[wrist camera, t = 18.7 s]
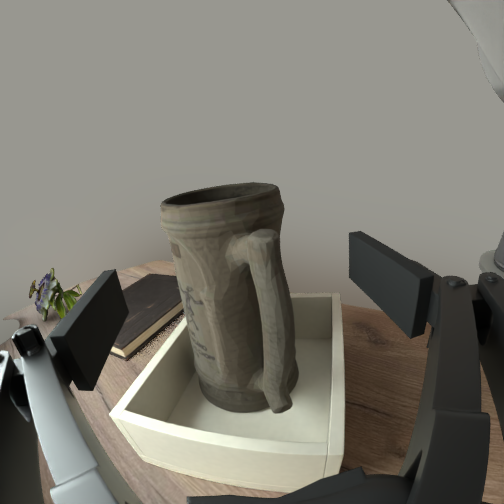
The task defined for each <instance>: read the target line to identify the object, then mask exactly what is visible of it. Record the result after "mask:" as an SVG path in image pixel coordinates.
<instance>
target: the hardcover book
mask: <svg viewBox="0 0 504 504" xmlns="http://www.w3.org/2000/svg"><path fill="white" fill-rule="evenodd" d="M122 292H123V295H124V298H125V301H126V304H127V307H128V310H129V314H128V316H127V318H126V320H125V322H124V324H123V326H122V328H121V330H120V332H119V334H118V336H117V338H116V341H115V343H114V345H113V347H112V349H111V351H110V354H112V355H114V356H116V357H119V358H121V359H123V360H125V361H127V360H128V359H130V358H131V357H132V356H133V355H134V354H135V353H136V352H138V351H139V350H140V349H141V348H142V347H143V346H145V345H146V344H147V343H148V342H149V341H150V340H152V339H153V338H154V337H155V336H156V335H157V334H159V333H160V332H161V331H162V330H163V329H164V328H165V327H167V326H168V325H169V324H170V323H171V322H172V321H174V320H175V319H176V318H177V317H178V316H179V315H181V314H182V313H183V312H184V308H183V303H182V299H181V295H180V290H179V286H178V281H177V277H176V276H169V275H159V274H148V275H146V276H145V277H143V278H142V279H140V280H138V281H137V282H135V283H134V284H132V285H130V286H129V287H127V288H126V289H124V290H122Z"/></svg>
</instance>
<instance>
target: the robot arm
mask: <svg viewBox="0 0 504 504" xmlns="http://www.w3.org/2000/svg"><path fill="white" fill-rule="evenodd" d="M447 1H448V2H449V3H450V4H451V6H452V7H453V8H454V10H455V11H456V12H457V13H458V15H459V16H460V17H461V19H462V20H463V21H464V23H465V24H466V25H467V27H468V28H469V30H470V31H471V33H472V34H473V36H474V37H475V39H476V40H477V45H478V54H479V59H480V62H481V65H482V68H483V70H484V73H485V75H486V77H487V79H488V81H489V83H490V84H491V86H492V88H493V89H494V91H495V92H496V94H497V95H498V96H499V98H500V99H501V100H502V101H503V102H504V0H447ZM494 264H495V266H496V267H497V268H498V269H499V270H501V271H502V272H504V232H503V235H502V238H501V240H500V243H499V245H498V248H497V249H496V251H495V255H494ZM349 278H351V280H352V281H353V282H354V283H355V284H357V286H358V287H360V289H362V290H363V291H364V292H365V293H366V294H367V295H368V296H369V297H370V298H371V299H372V300H373V301H374V302H375V303H376V304H377V305H378V306H379V307H380V308H381V309H382V310H383V311H384V312H385V313H386V314H387V315H388V316H389V317H390V318H391V319H392V320H393V321H394V323H395V324H396V325H397V326H398V327H399V328H400V329H401V330H402V331H403V332H404V333H405V334H406V335H407V336H408V337H409V338H410V339H411V338H414V337H417V336H420V335H422V334H424V332H425V327H426V322H428V323H429V324H430V325H431V326H432V328H431V332H430V336H429V340H428V344H427V348H429V349H428V357H427V364H426V371H425V377H424V383H423V388H422V394H421V399H420V403H419V408H418V413H417V417H416V421H415V425H414V429H413V433H412V436H411V440H410V444H409V447H408V450H407V454H406V457H405V460H404V463H403V465H402V467H401V469H400V472H399V474H398V475H390V474H369V475H365V473H364V471H363V469H362V466H361V467H358V468H355V469H352V470H349V471H346V472H343V473H339V474H336V475H333V476H329V477H326V478H322V479H319V480H317V481H315V482H313V483H311V484H309V485H307V486H305V487H303V488H301V489H298V490H296V491H294V492H292V493H289V494H287V495H284V496H282V497H279V498H259V497H246V496H236V495H220V496H196V497H187V504H491V503H487V502H482V497H483V492H484V486H485V480H486V473H487V465H488V455H489V443H490V415H489V414H488V413H484V412H481V372H480V362H481V365H482V367H483V370H484V373H485V376H486V379H487V382H488V385H489V388H490V391H491V394H492V397H493V401H494V404H495V407H496V411H497V415H498V419H499V423H500V427H501V431H502V435H503V440H504V279H503V278H502V277H501V276H499V275H497V274H496V273H493V272H490V273H487V272H486V273H482V274H480V276H479V280H478V284H475V285H468V282H467V281H466V280H464V279H463V278H460V277H457V276H446V277H443V278H442V277H441V276H439V275H437V274H436V273H434V272H432V271H431V270H428V268H426V267H425V266H424V267H423V265H421V264H420V263H418V262H416V261H413V260H410V259H408V258H406V257H404V256H403V255H401V254H400V253H398V252H396V251H394V250H393V249H391V248H389V247H388V246H386V245H384V244H382V243H381V242H379V241H377V240H376V239H374V238H372V237H370V236H369V235H367V234H365V233H363V232H361V231H358V232H351V233H349ZM128 314H129V310H128V307H127V304H126V301H125V298H124V295H123V292H122V289H121V286H120V282H119V279H118V276H117V272H116V269H114V270H108V271H104V272H103V273H102V274H101V275H100V276H99V277H98V278H97V279H96V281H95V282H94V283H93V284H92V285H91V286H90V287H89V289H88V290H87V291H86V292H85V293H84V294H83V296H82V297H81V298H80V299H79V300H78V301H77V303H76V304H75V305H74V306H73V308H72V309H71V310H70V311H69V312H68V314H67V315H66V316H65V317H63V318H62V319H61V320H60V321H59V323H58V324H57V326H56V327H55V328H54V329H53V331H52V332H51V333H50V334H49V335H48V337H47V338H46V339H45V341H44V339H43V337H42V335H41V333H40V331H39V329H38V327H37V325H34V324H32V325H27V326H24V327H22V328H21V329H19V330H18V331H16V332H15V333H14V335H13V337H12V340H13V342H14V344H15V346H16V348H17V350H18V351H19V353H20V355H21V358H19V359H15V360H13V359H12V358H11V356H10V354H9V352H8V351H0V504H44V499H43V493H42V486H41V478H40V469H39V456H38V437H39V440H40V444H41V447H42V450H43V453H44V455H45V458H46V461H47V464H48V466H49V469H50V471H51V474H52V476H53V479H54V481H55V484H56V486H55V487H52V488H51V489H50V493H51V497H52V499H53V502H54V504H143V503H142V502H141V501H140V499H139V498H138V497H137V496H136V494H135V493H134V492H133V491H132V489H131V488H130V487H129V485H128V484H127V483H126V481H125V480H124V478H123V477H122V476H121V474H120V473H119V471H118V470H117V469H116V467H115V466H114V464H113V463H112V461H111V460H110V458H109V457H108V455H107V453H106V452H105V450H104V449H103V447H102V445H101V444H100V442H99V440H98V439H97V437H96V435H95V434H94V432H93V430H92V428H91V426H90V425H89V423H88V421H87V419H86V417H85V415H84V413H83V411H82V410H81V408H80V406H79V404H78V402H77V399H76V397H75V395H74V393H73V391H72V390H71V388H70V387H69V386H70V384H71V382H72V380H73V382H74V384H75V385H76V387H77V388H78V390H82V391H93V390H94V387H95V385H96V383H97V380H98V378H99V376H100V373H101V371H102V369H103V367H104V364H105V362H106V360H107V358H108V356H109V353H110V351H111V349H112V347H113V345H114V343H115V341H116V338H117V336H118V334H119V332H120V330H121V328H122V326H123V324H124V322H125V320H126V318H127V316H128Z"/></svg>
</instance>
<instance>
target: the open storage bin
mask: <svg viewBox="0 0 504 504" xmlns="http://www.w3.org/2000/svg"><path fill="white" fill-rule="evenodd" d="M290 296H291V300H292V307H293V313H294V324H295V348H296V357H295V359H296V362H297V365H298V370H299V377H298V381H297V383H296V386H295V388H294V389H293V390H292V392H291V393H290V394H289V395H290V397H291V400H292V402H293V405H292V407H291V409H289V410H287V411H285V412H283V413H278V414H274V413H273V412H272V410H271V408H270V407H269V408H266V409H263V410H260V411H257V412H249V413H237V412H229V411H226V410H223V409H221V408H219V407H216V406H215V405H213V404H212V403H210V402H209V401H208V400H207V399H206V398H205V396H204V395H203V394H202V391H201V389H200V386H199V375H198V373H197V371H196V368H195V366H194V357H195V356H194V352H193V348H192V343H191V339H190V335H189V330H188V326H187V322H186V317H184V319H183V320H182V321H181V322H180V324H179V325H178V326H177V328H176V329H175V330H174V331H173V333H172V334H171V335H170V336H169V338H168V339H167V340H166V342H165V343H164V344H163V345H162V347H161V348H160V349H159V351H158V352H157V353H156V354H155V356H154V357H153V358H152V360H151V361H150V362H149V363H148V365H147V366H146V367H145V369H144V370H143V371H142V372H141V374H140V375H139V376H138V378H137V379H136V380H135V381H134V383H133V384H132V385H131V387H130V388H129V389H128V390H127V392H126V393H125V394H124V396H123V397H122V398H121V400H120V401H119V402H118V404H117V405H116V406H115V407H114V409H113V410H112V411H111V413H110V414H109V415H110V416H111V418H112V419H113V421H114V422H115V424H116V425H117V427H118V428H119V430H120V431H121V432H122V434H123V435H124V436H125V438H126V439H127V441H128V442H129V443H130V445H131V446H132V447H133V448H134V450H135V451H136V452H137V453H138V455H139V456H140V457H141V459H142V460H143V461H144V462H147V463H150V464H153V465H156V466H159V467H162V468H165V469H168V470H171V471H174V472H178V473H181V474H185V475H188V476H192V477H196V478H200V479H204V480H208V481H213V482H217V483H222V484H227V485H233V486H238V487H244V488H251V489H258V490H266V491H276V492H287V493H292V492H294V491H296V490H298V489H301V488H303V487H305V486H307V485H309V484H311V483H313V482H315V481H317V480H319V479H322V478H326V477H329V476H333V475H336V474H339V471H340V467H341V464H342V460H343V456H344V441H345V365H344V342H343V325H342V311H341V299H340V293H294V294H290Z"/></svg>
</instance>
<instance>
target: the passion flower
mask: <svg viewBox="0 0 504 504" xmlns="http://www.w3.org/2000/svg"><path fill="white" fill-rule="evenodd" d="M35 282H36V281H35V280H34V281H33V283H32V286H31V287H30V293H29V298H31V297H32V294H33V293H34V291H37V293H36V294H37V298H36V302H35V305H36V306H37V311H38V312H39V313H40V314H42V315H43V321H46V320H47V315H48V309H49V308H50V306H52V308H53V309H54V310H55V311H56V308H57V312H58V314H59V316H60V318H61V319H62V318H63V317H65V316H66V315H67V312H66V308H65V306H64V303H63V302H62V297H63V298H64V300H65V302H66V304H67V308H68V309H69V311H70V310H71V309H72V308H73V306H74V305H75V304H76V303H77V302H76V299H75V298H74V297H79V296H80V295H82V292H81V289H80V287H79V284H78V285H76V286H75V287H77V288H78V290H79V293H80V295H79V294H78V293H77V292H75V291H73V290H72V289H74V288H75V287H73V288H72V289H71V290H67V291H65V292H63V290H62V288H61V287H60V283H58V280H57V279H56V278H55V277H54V268H51V270H50V274H46V276H45V277H44V279H42V281H41V282H40V284H39V290H37V289H36V288H35ZM56 293H59V294H58V295H55V294H56ZM55 296H57V298H56V300H54V299H55ZM73 296H74V297H73ZM55 306H56V307H55Z"/></svg>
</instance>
